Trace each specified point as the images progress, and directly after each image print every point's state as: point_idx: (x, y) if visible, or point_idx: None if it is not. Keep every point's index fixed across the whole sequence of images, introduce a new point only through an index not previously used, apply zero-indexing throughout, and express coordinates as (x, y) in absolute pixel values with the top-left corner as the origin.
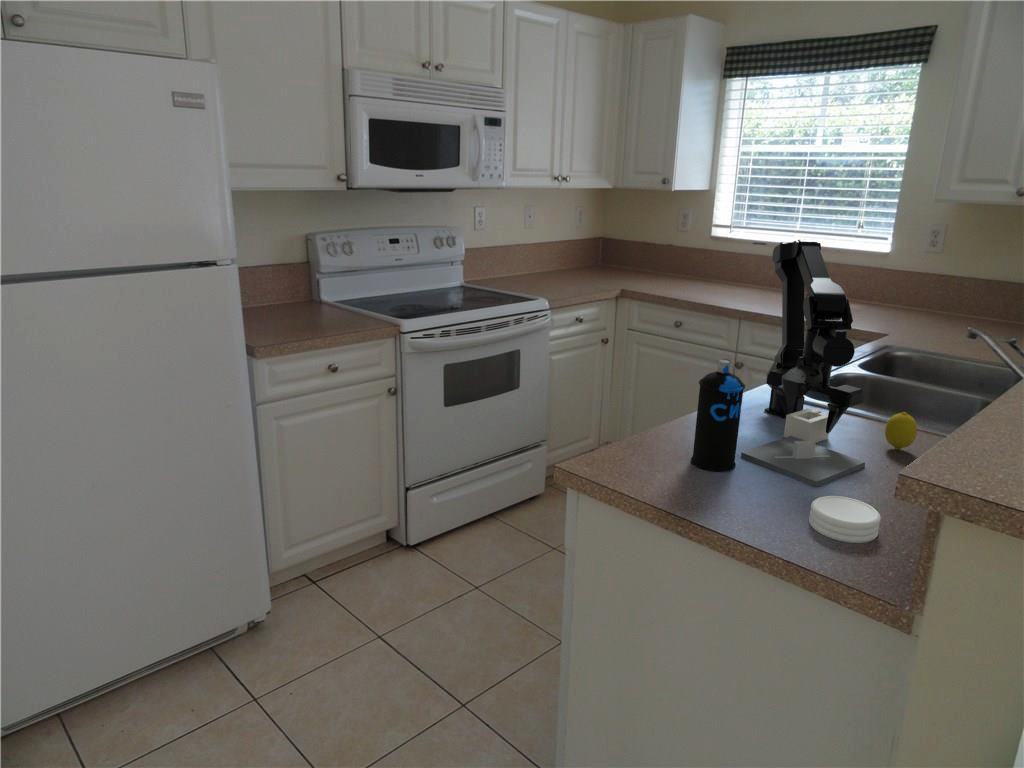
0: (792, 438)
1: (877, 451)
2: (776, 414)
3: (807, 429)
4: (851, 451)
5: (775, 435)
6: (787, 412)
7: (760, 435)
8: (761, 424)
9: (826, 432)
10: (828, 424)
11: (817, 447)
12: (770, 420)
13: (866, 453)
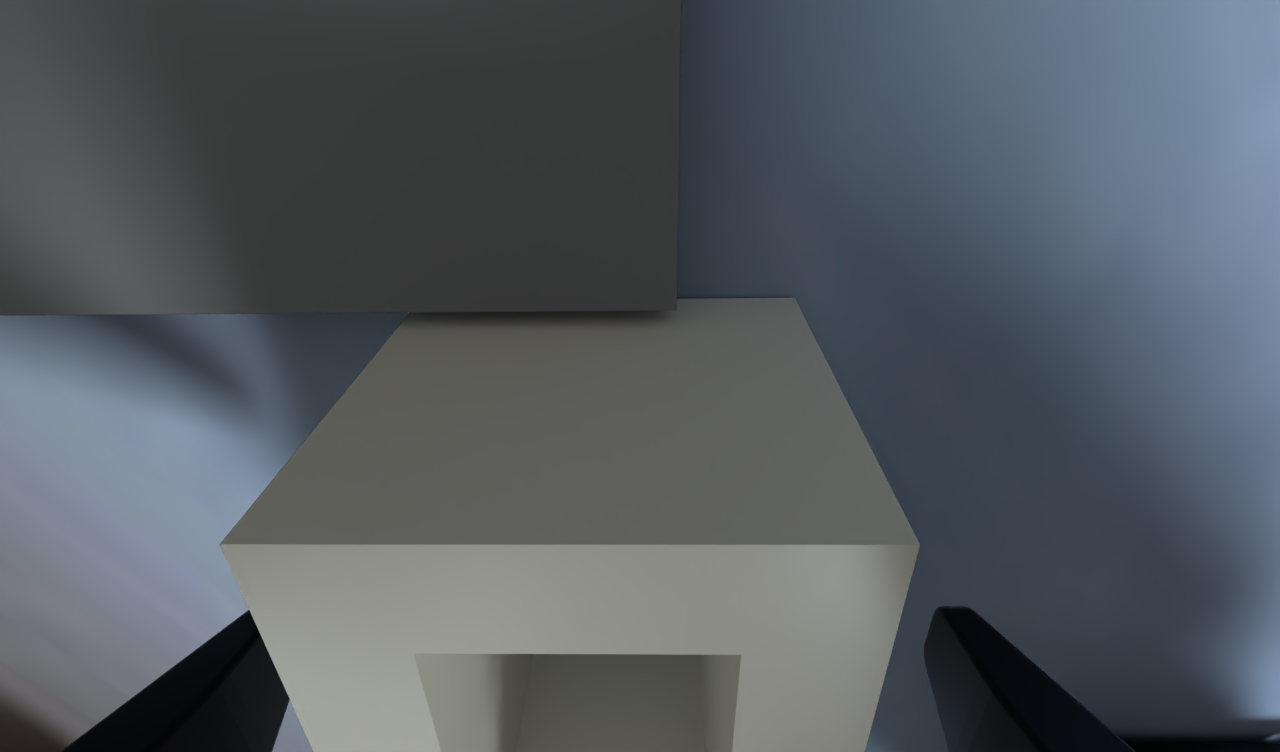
0: (589, 235)
1: (78, 697)
2: (1165, 748)
3: (357, 430)
4: (123, 550)
5: (914, 277)
6: (1008, 713)
7: (1101, 66)
8: (1228, 455)
9: None
10: (124, 727)
11: (136, 233)
12: (1167, 618)
13: (46, 607)
